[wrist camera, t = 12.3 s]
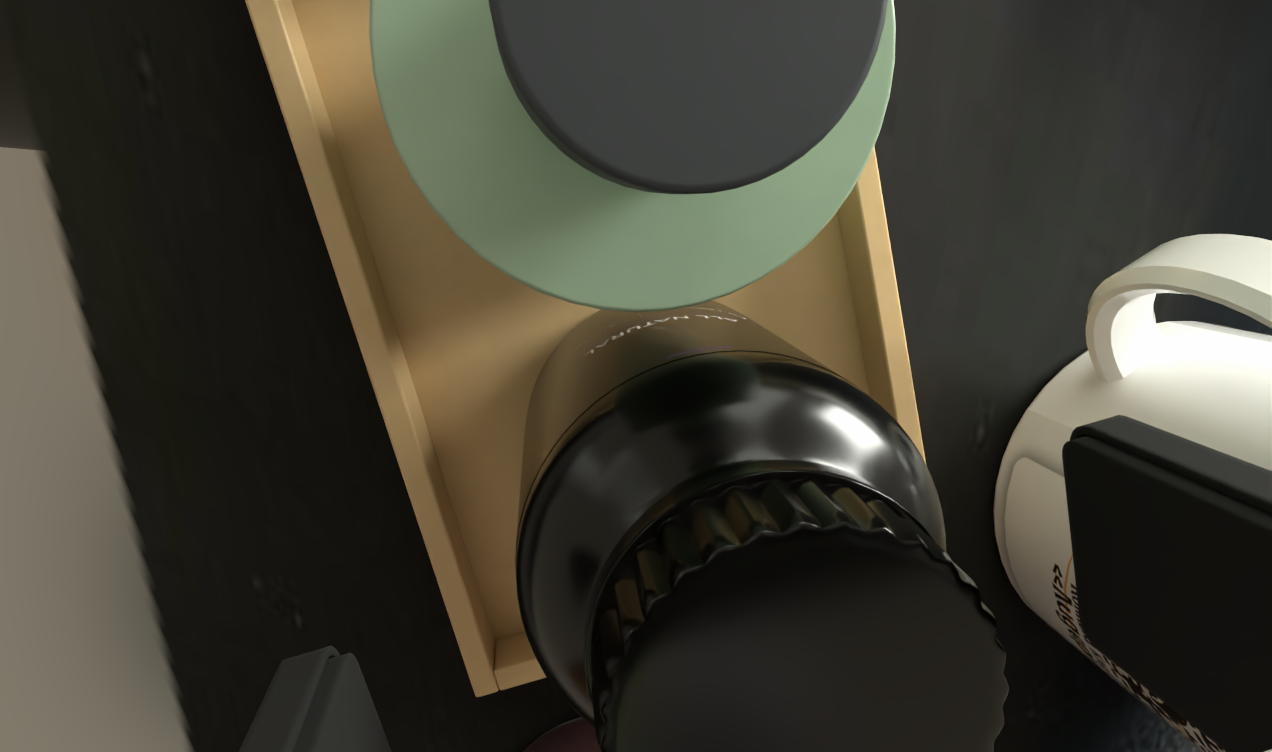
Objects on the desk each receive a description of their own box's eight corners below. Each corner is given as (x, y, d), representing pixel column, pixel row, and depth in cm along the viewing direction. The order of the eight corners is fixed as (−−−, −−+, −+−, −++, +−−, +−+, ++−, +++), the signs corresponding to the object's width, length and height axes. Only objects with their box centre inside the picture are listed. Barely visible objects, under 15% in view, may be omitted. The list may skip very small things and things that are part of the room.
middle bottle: (493, 281, 19) (430, 443, 7) (417, 15, 18) (161, -395, 5) (736, 219, 20) (1093, 264, 7) (681, -46, 18) (1010, -560, 6)
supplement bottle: (653, 229, 20) (833, 281, 8) (842, 411, 21) (1220, 674, 10) (463, 437, 20) (373, 768, 9) (661, 599, 22) (813, 1062, 10)
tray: (480, 652, 22) (475, 699, 20) (120, -457, 16) (61, -551, 14) (906, 530, 23) (943, 563, 21) (717, -568, 17) (743, -671, 15)
